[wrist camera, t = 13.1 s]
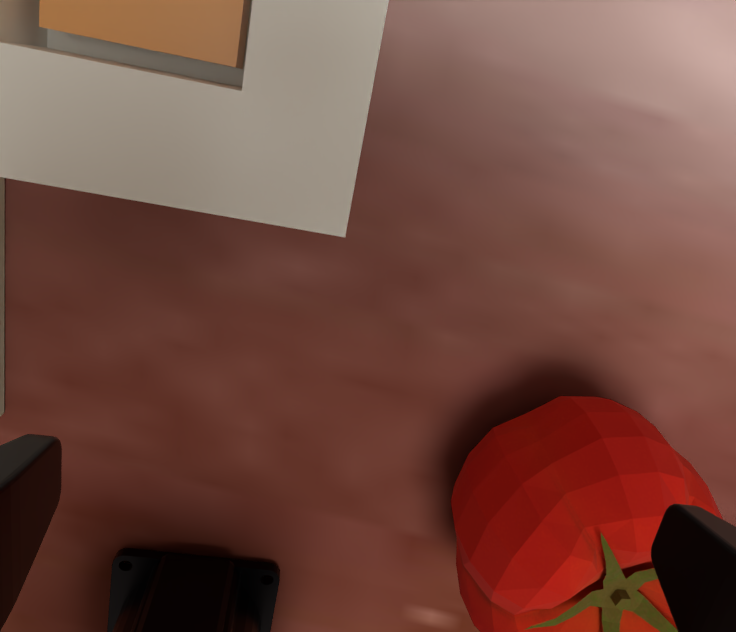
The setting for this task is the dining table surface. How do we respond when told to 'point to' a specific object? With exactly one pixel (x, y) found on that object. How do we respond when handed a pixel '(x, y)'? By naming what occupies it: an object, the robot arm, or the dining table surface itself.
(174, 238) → the dining table surface
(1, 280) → the rest pad
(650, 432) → the tomato
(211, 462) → the dining table surface
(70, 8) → the guard button
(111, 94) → the box
